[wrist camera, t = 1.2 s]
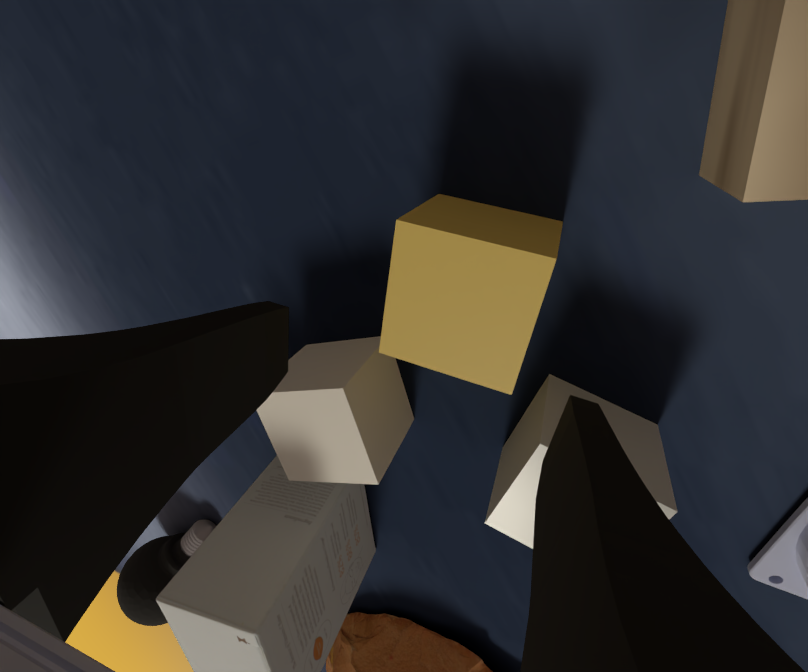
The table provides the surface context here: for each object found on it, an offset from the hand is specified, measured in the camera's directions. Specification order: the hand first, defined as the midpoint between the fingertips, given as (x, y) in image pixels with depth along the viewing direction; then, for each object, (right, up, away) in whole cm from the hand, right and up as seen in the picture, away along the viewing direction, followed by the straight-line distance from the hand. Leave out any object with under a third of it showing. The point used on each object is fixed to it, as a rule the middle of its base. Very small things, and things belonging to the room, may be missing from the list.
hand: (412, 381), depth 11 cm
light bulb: (-18, -16, +27) cm, 37 cm away
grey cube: (+8, -4, +10) cm, 13 cm away
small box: (-5, -9, +18) cm, 21 cm away
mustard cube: (+3, +4, +8) cm, 10 cm away
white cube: (-3, -1, +13) cm, 13 cm away
